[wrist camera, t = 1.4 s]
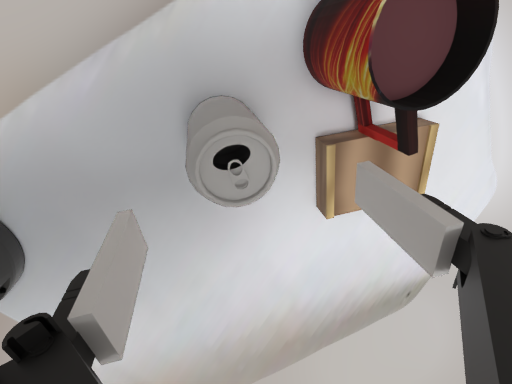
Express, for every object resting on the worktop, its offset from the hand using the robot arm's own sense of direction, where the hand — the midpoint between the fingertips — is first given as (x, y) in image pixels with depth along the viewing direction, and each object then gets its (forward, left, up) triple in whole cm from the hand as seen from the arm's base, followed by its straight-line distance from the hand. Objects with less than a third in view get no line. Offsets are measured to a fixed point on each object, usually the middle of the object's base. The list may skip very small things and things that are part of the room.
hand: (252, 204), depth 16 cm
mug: (+16, +5, -17) cm, 24 cm away
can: (0, 0, -17) cm, 17 cm away
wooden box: (+18, -8, -17) cm, 26 cm away
